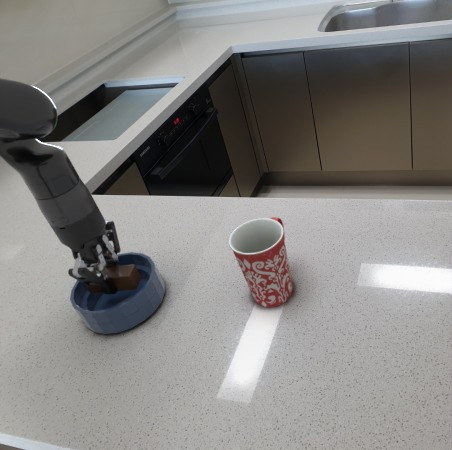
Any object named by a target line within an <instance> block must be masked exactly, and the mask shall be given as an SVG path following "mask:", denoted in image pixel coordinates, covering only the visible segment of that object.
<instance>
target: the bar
mask: <svg viewBox="0 0 452 450" xmlns="http://www.w3.org/2000/svg"><path fill="white" fill-rule="evenodd" d="M105 268H106V271H107V273H108V275H109V276H110V277H111V279H112V281H113V283H114V284H115V286H116V288H117V291H126V290H136V289H137V287H138V285H139V283H140V281H141V278H142V277H141V276H140V274H139V272H138V270H137V268H136V266H135V265H124V266H114V267H105ZM96 272H97V274H100V272H99V271H98V270H97V271H96ZM85 286H86V285H85ZM86 288H87V289H88V291H89V292H90V293H102V292H103V291H102V290H101V288H100V287H99V285H95V286H86Z"/></svg>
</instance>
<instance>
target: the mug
mask: <svg viewBox="0 0 452 450" xmlns="http://www.w3.org/2000/svg"><path fill="white" fill-rule="evenodd" d="M285 238H286V237H285V227H284V222H283V220H282V218H280V217H276V216H275V217H270V218H267V217H259V218H254V219H250V220H247V221H245V222H243V223H241V224H239V225H238V226H237V227H235V229H234V230H232V232H231V233H230V235H229V238H228V247H229V248H230V249H231V251H232V252H233V254H234V257H235V260H236V261H237V264H238V266H239V268H240V271H241V273H242V275H243V277H244V279H245V282H246V284H247V286H248V288H249V292H250V293H251V296H252V298H253V300H254V301H255V303H256V304H257V305H259V306H260V307H264V308H274V307H279V306H281V305H283V304H284V303H286V302H287V301H288V300H289V299H290V298H291V296H292V295H293V291H294V287H293V280H292V275H291V269H290V263H289V258H288V253H287V252H288V251H287V246H286V241H285Z"/></svg>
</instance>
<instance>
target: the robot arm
mask: <svg viewBox="0 0 452 450" xmlns="http://www.w3.org/2000/svg"><path fill="white" fill-rule="evenodd" d="M57 123H58V110H57V107H56V105H55V103H54V102H53V100H52V99H51V98H50V96H49V95H48V94H46V93H45V92H44V91H42V90H41V89H40V88H38V87H36V86H34V85H31V84H29V83H25V82H22V81H17V80H13V79H8V78H4V77H3V78H2V77H0V158H1V159H2V160H3V161H4V163H6V164H7V165H8V166H9V167H11V168H12V170H14V171H15V172H17V173H18V174H19V176H20V177H21V179H22V181H23V182H24V183H25V186H26V187H27V188H28V190H29V191H30V194H31V195H32V196H33V198H34V200H35V202H36V204H37V206H38V209H39V211H40V212H41V214H42V215H43V217H44V219H45V220H46V221H47V224H49V226H50V228H51V230H52V231H53V232H54V234H55V235H56V237H57V239H58V240H59V241H60V243H61V244H62V245H64V246H66V247H68V248H69V249H70V250H71V254H72V258H73V259H74V260H75V262H74V265H73V267H72V268H69V269H68V271H67V275H68V276H70V277H71V278H72V279H74V280H76V281H77V280H78V281H79V282H81V283H83V284H85V285H86V286H95V285H99V287H100V288H101V290H102V291H103V293H104V294H107V295H109V294H116V292H117V288H116V286H115V284H114V283H113V281H112V279H111V277H110V276H109V275H108V273H107V271H106V268H105V267H114V266H120V264H119V263H118V256H117V255H118V254H121V245H120V240H119V236H118V231H117V227H116V225H115V221H113V220H111V221H110V220H108V221H106V219H105V217H104V215H103V214H102V212H101V210H100V208H99V206H98V203H96V201H95V199H94V197H93V196H92V193H91V191H90V190H89V188H88V187H87V185H86V184H85V183H84V181H83V180H82V179H81V177H80V175H79V174H78V171H77V169H76V168H75V166H74V164H73V162H72V161H71V159H70V158H69V155H68V153H67V152H66V151H65V150H64V148H62V147H60V146H58V145H54V144H48V143H44V142H41V141H40V140H38V139H41V138H44V137H46V136H48V135H49V134H51V133H52V132H53V130H55V128H56V127H57ZM111 242H112V243H111ZM97 270H98V271H99V272H100V274H97V272H96V271H97Z"/></svg>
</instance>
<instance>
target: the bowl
mask: <svg viewBox="0 0 452 450" xmlns="http://www.w3.org/2000/svg"><path fill="white" fill-rule="evenodd" d="M117 256H118V263H119V264H120V266H124V265H135V266H136V268H137V270H138V272H139V274H140V276H141V277H142V278H141V281H140V283H139V285H138V287H137V289H136V290H126V291H117V292H116V294H109V295H107V294H104V293H103V292H102V293H90V292H89V291H88V289H87V288H86V286H85V284H83V283H81V282H79V281H78V280H76V281H75V283H74V285H73V286H72V289H71V292H70V297H69V301H70V304H71V306H72V308H73V309H74V310H75V312H76V314H77V315H78V316H79V317H80V319H81V321H82V322H83V323H84V325H85V326H86V328H87V329H89V330H91V331H92V332H94V333H97V334H98V333H99V334H103V335H109V334H118V333H121V332H124V331H127V330H130V329H133V328H135V326H138V325H139V324H142V323H143V322H144V321H146V320H147V319H148V318H149V317H150V316H152V315H153V314H154V313H155V312H156V310H157V309H158V308H159V307H160V305H161V304H162V302H163V298H164V296H165V294H166V286H165V282H164V280H163V278H162V275H161V274H160V272H159V270H158V268H157V266H156V263H155V262H154V260H152V257H150V256H149V255H147V254H144V253H142V252H134V251H131V252H130V251H129V252H123V253H117Z"/></svg>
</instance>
